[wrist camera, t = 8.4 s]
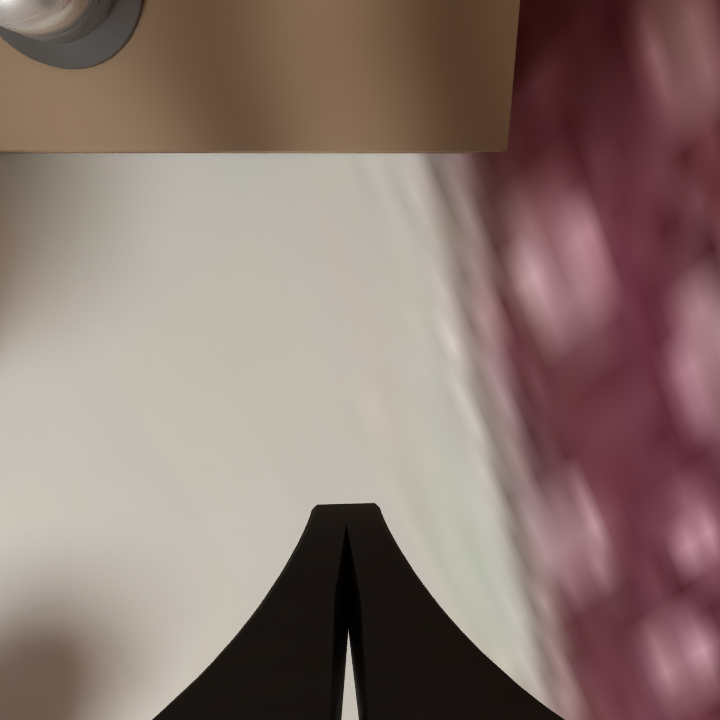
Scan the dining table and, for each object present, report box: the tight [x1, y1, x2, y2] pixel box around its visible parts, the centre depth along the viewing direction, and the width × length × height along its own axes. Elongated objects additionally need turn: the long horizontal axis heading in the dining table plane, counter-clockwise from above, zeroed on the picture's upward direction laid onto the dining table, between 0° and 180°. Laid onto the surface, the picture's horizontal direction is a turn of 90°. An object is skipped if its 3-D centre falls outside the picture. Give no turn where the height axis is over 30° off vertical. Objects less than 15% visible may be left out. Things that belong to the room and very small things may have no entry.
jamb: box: [0, 0, 520, 153], centre depth 14 cm, size 15×6×5 cm, turn 90°
